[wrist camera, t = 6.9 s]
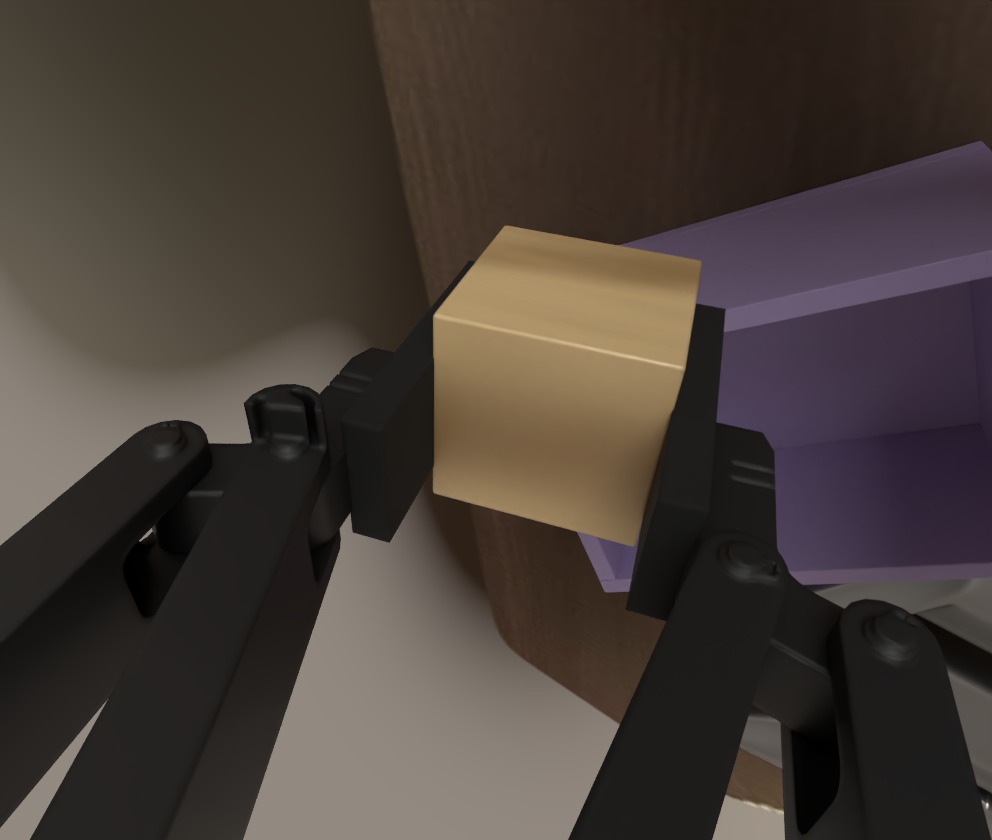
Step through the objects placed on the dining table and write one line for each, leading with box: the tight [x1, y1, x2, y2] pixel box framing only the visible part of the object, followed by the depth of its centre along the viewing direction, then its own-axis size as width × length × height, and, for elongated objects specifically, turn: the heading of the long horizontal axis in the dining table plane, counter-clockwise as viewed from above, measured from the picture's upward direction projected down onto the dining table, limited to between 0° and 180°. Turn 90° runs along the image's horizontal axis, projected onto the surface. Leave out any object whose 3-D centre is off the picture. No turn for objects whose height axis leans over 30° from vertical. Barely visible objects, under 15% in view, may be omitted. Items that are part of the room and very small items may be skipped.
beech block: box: [433, 226, 702, 546], centre depth 15 cm, size 4×4×4 cm
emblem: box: [739, 578, 992, 840], centre depth 37 cm, size 28×5×28 cm
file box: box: [577, 141, 992, 592], centre depth 27 cm, size 17×13×9 cm
